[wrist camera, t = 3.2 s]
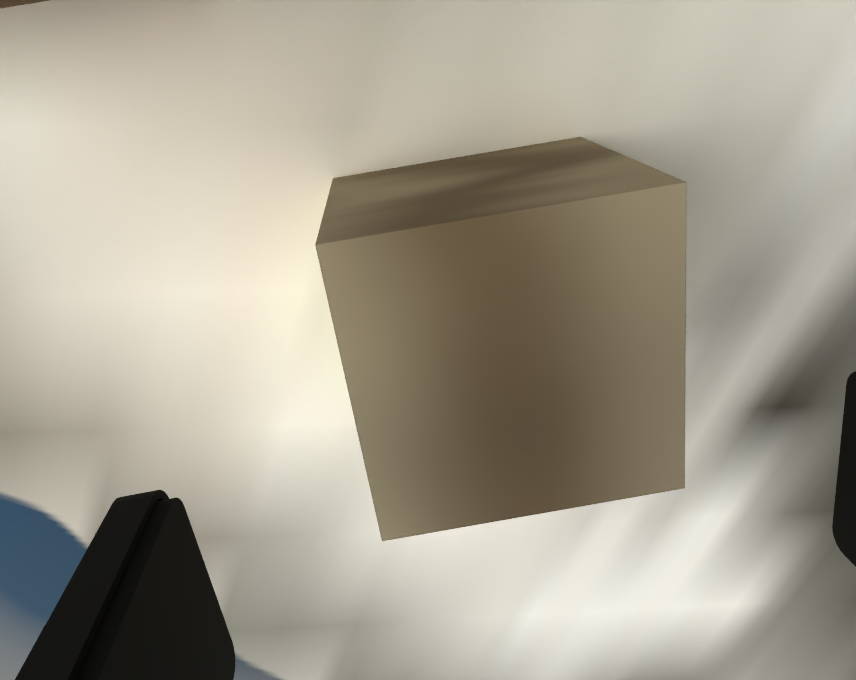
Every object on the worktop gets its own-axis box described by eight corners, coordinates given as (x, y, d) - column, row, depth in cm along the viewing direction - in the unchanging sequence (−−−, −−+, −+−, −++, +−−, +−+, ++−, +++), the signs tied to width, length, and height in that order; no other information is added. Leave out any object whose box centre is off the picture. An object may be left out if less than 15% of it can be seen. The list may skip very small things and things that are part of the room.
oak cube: (579, 136, 16) (686, 182, 11) (592, 358, 19) (684, 487, 13) (333, 177, 16) (315, 244, 11) (377, 395, 19) (382, 541, 13)
